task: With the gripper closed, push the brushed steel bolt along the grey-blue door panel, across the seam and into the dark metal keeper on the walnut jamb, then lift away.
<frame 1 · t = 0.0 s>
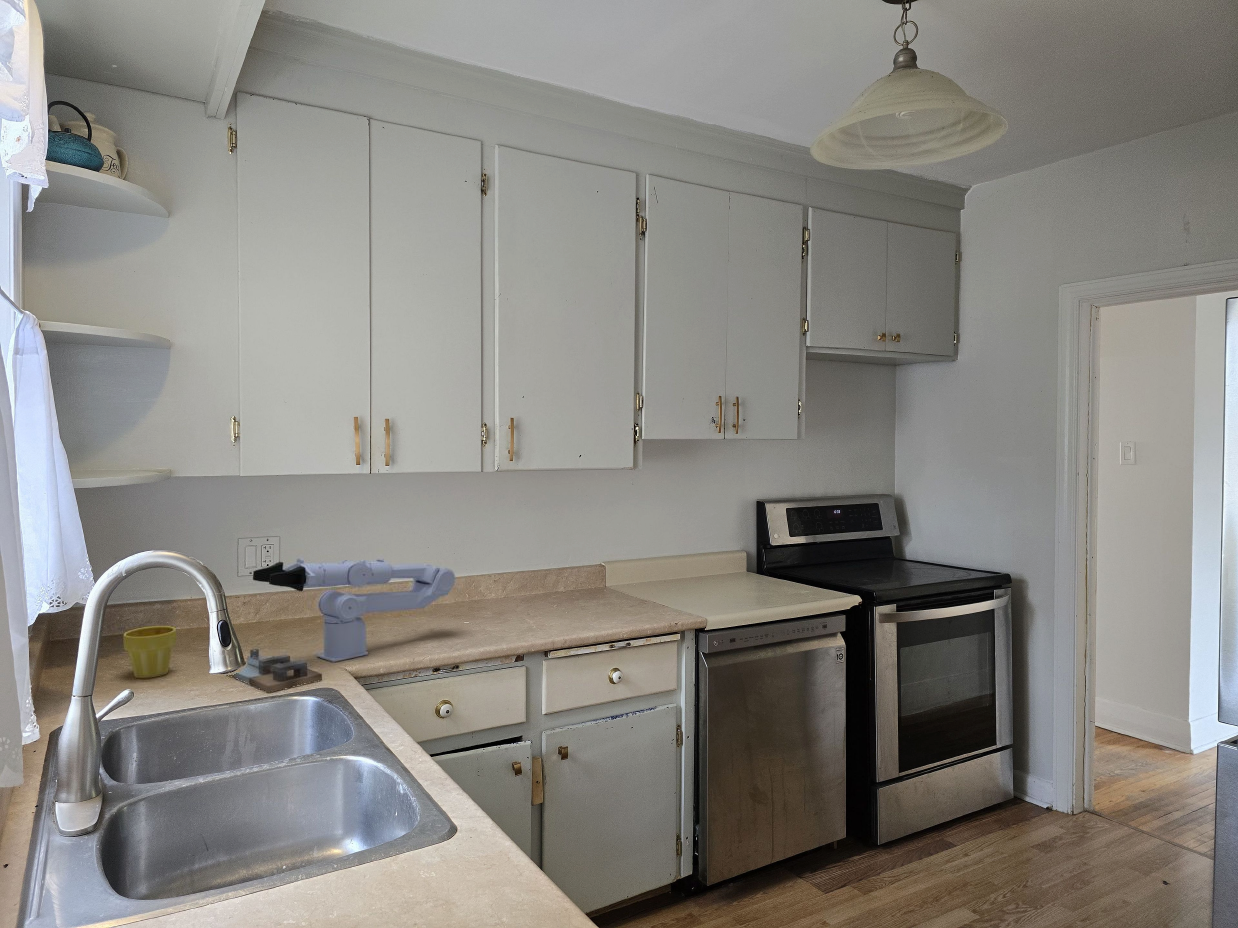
hand: (261, 577, 187), 22 cm above the counter, tool horizontal, fingers open, 7 cm apart
door and jamb: (271, 676, 185), on the counter
plant pot: (150, 674, 186), on the counter
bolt: (263, 659, 187), point 3 cm above the counter, slide at 0.0 cm
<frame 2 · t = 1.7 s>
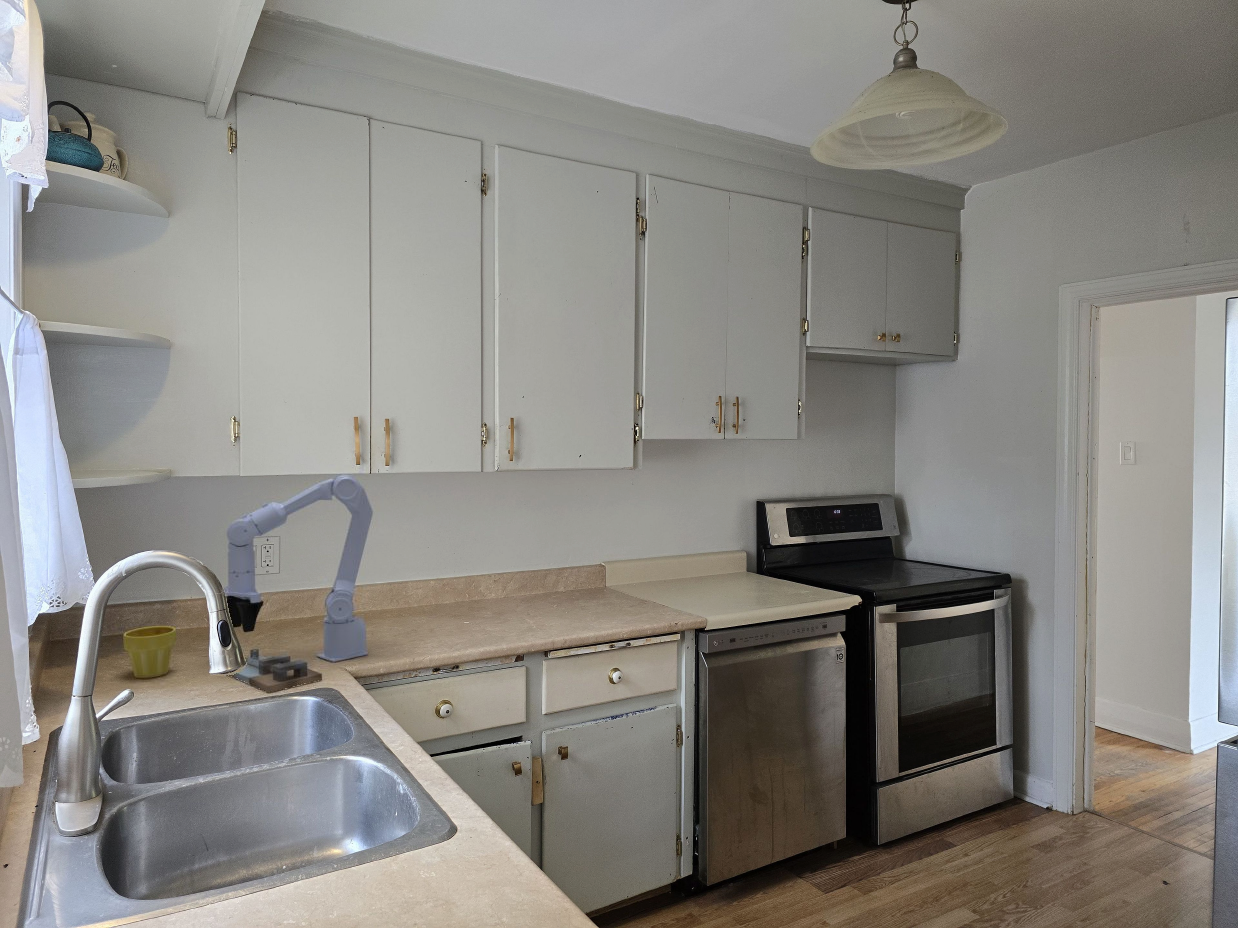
hand: (242, 629, 194), 8 cm above the counter, tool pointing down, fingers open, 6 cm apart
nothing on the counter moved.
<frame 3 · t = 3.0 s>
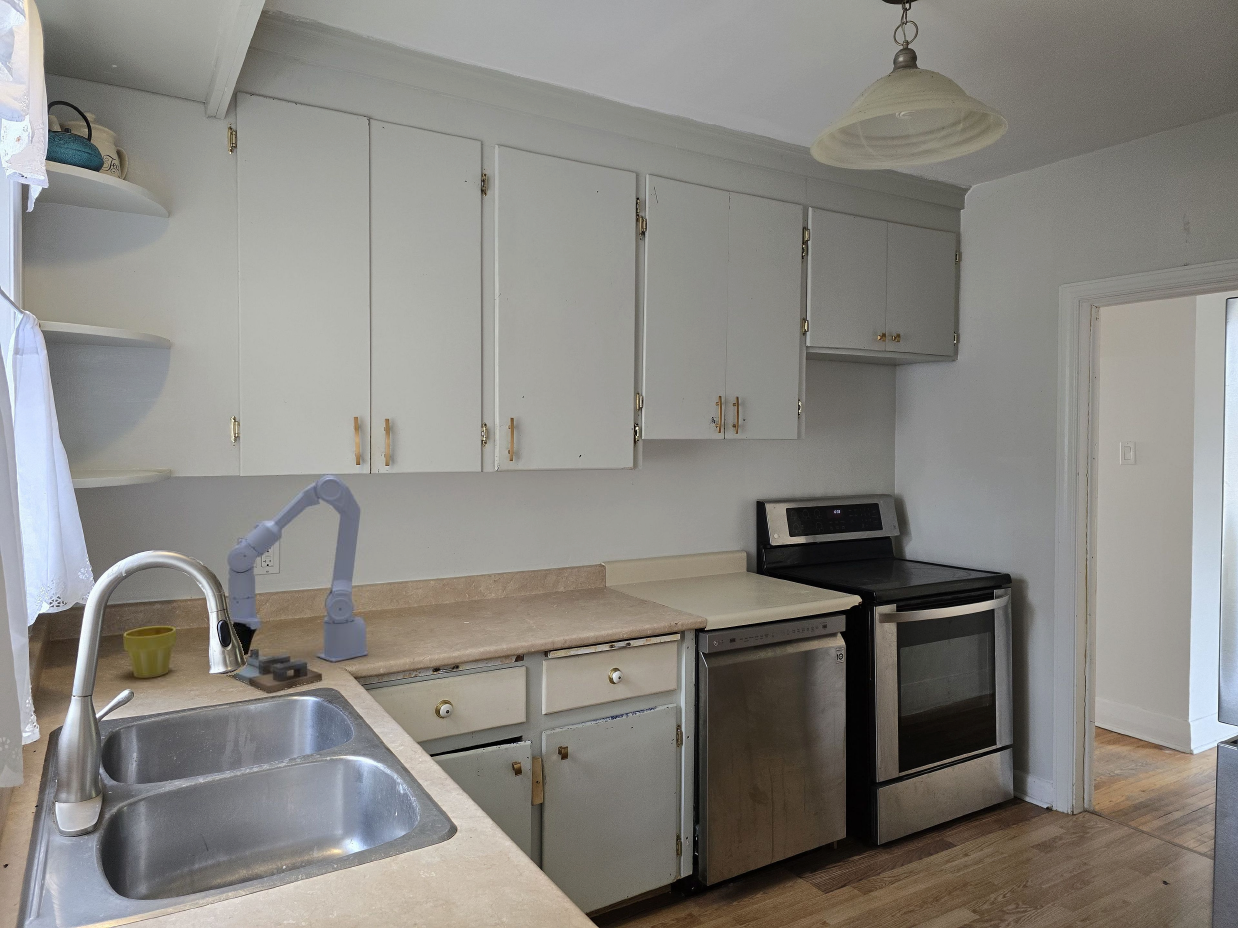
hand: (242, 654, 194), 2 cm above the counter, tool pointing down, fingers closed
nothing on the counter moved.
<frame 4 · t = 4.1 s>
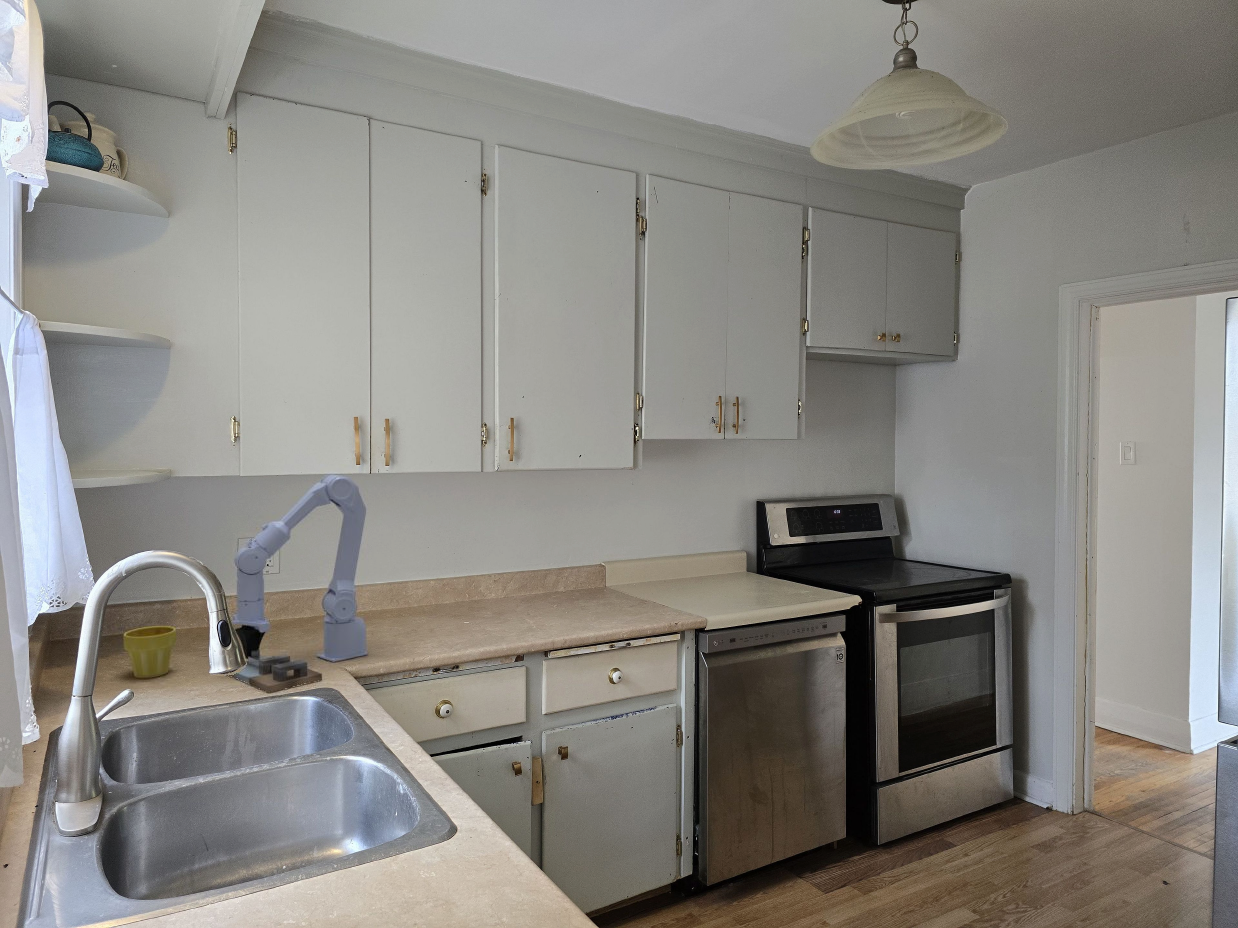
hand: (251, 658, 191), 2 cm above the counter, tool pointing down, fingers closed
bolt: (264, 660, 187), point 3 cm above the counter, slide at 0.5 cm, touching gripper
everything else where it was.
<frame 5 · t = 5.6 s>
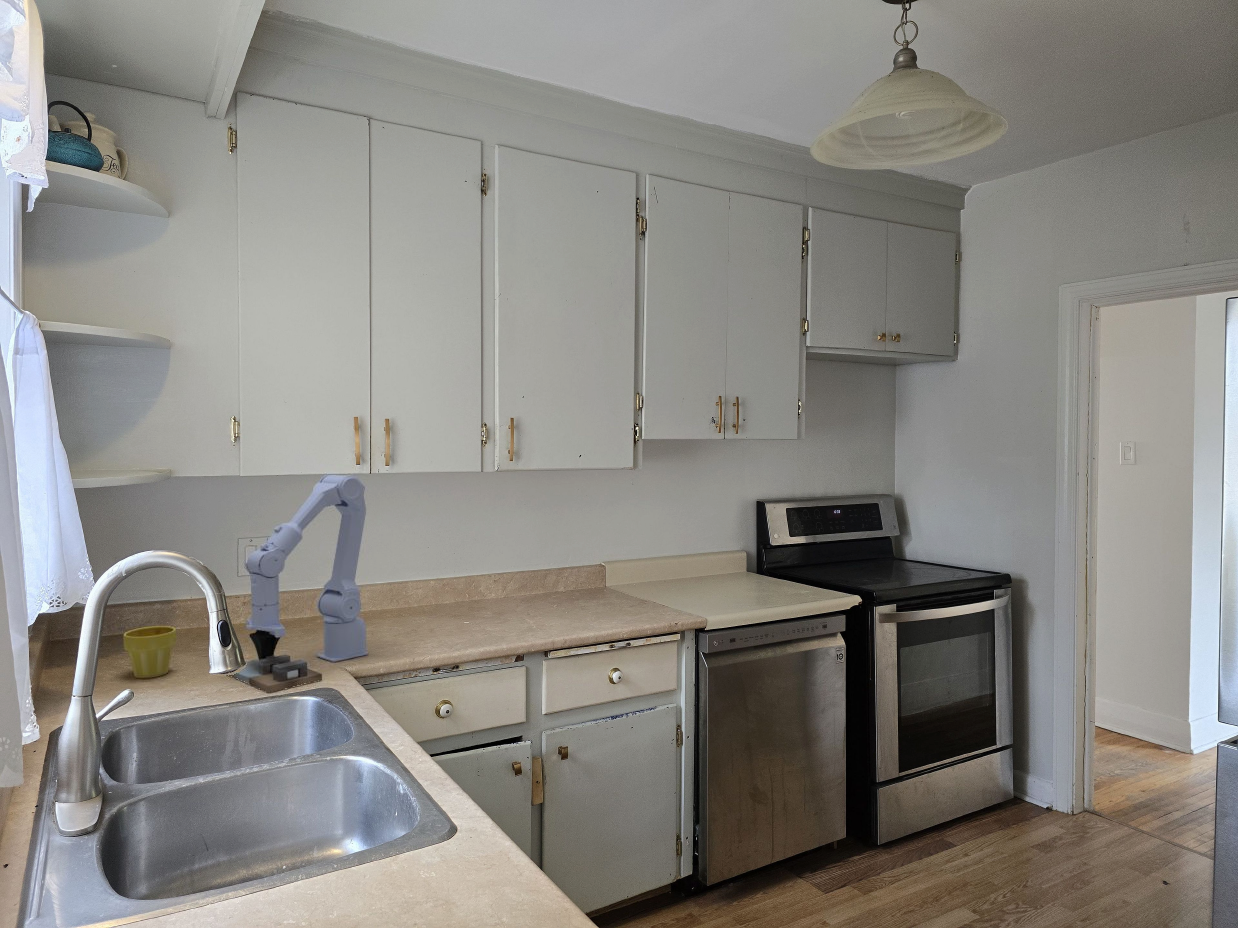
hand: (265, 663, 186), 2 cm above the counter, tool pointing down, fingers closed
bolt: (280, 666, 182), point 3 cm above the counter, slide at 7.6 cm, touching door and jamb, gripper
everything else where it was.
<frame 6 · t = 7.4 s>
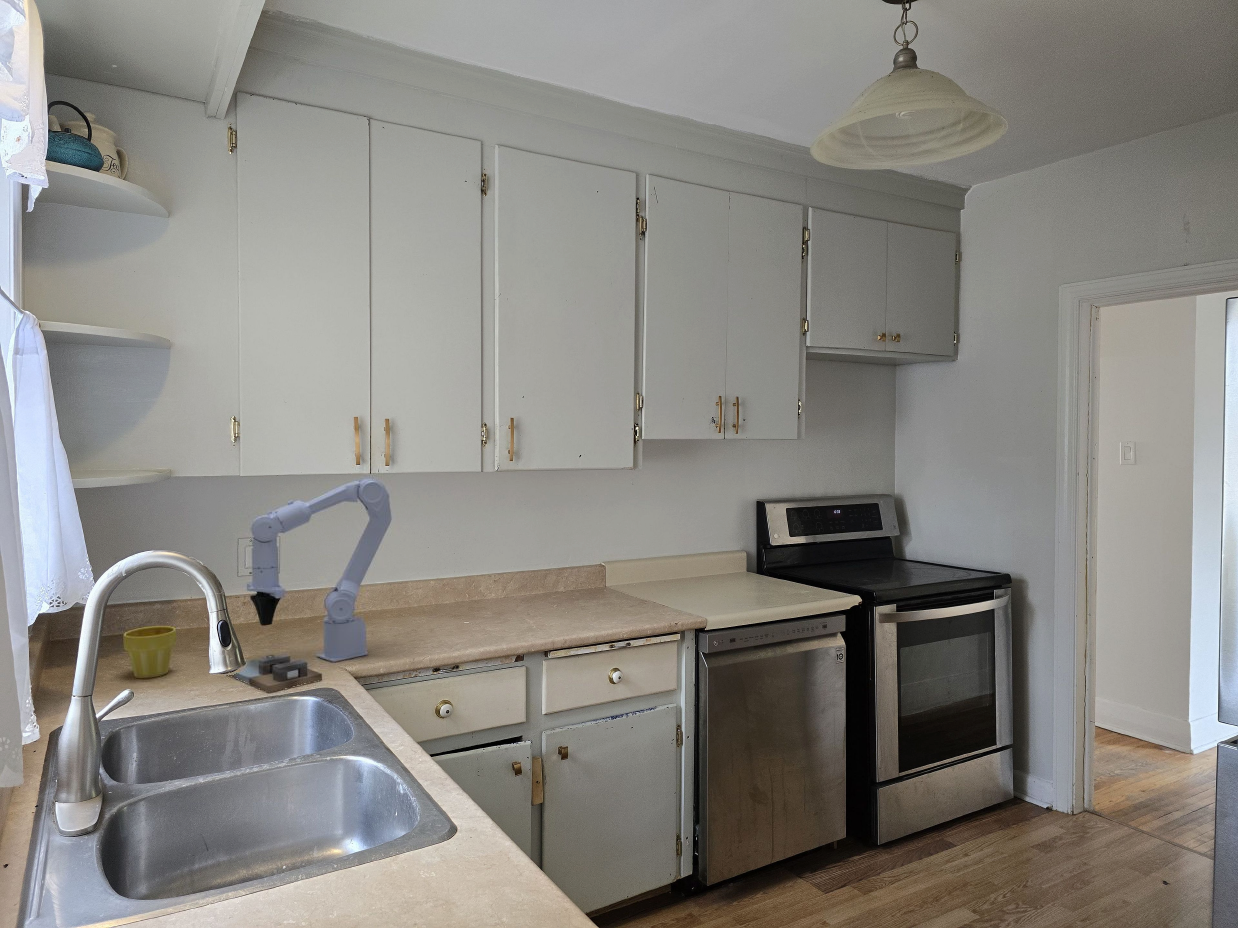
hand: (266, 624, 195), 9 cm above the counter, tool pointing down, fingers closed
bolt: (280, 666, 182), point 3 cm above the counter, slide at 7.6 cm, touching door and jamb
everything else where it was.
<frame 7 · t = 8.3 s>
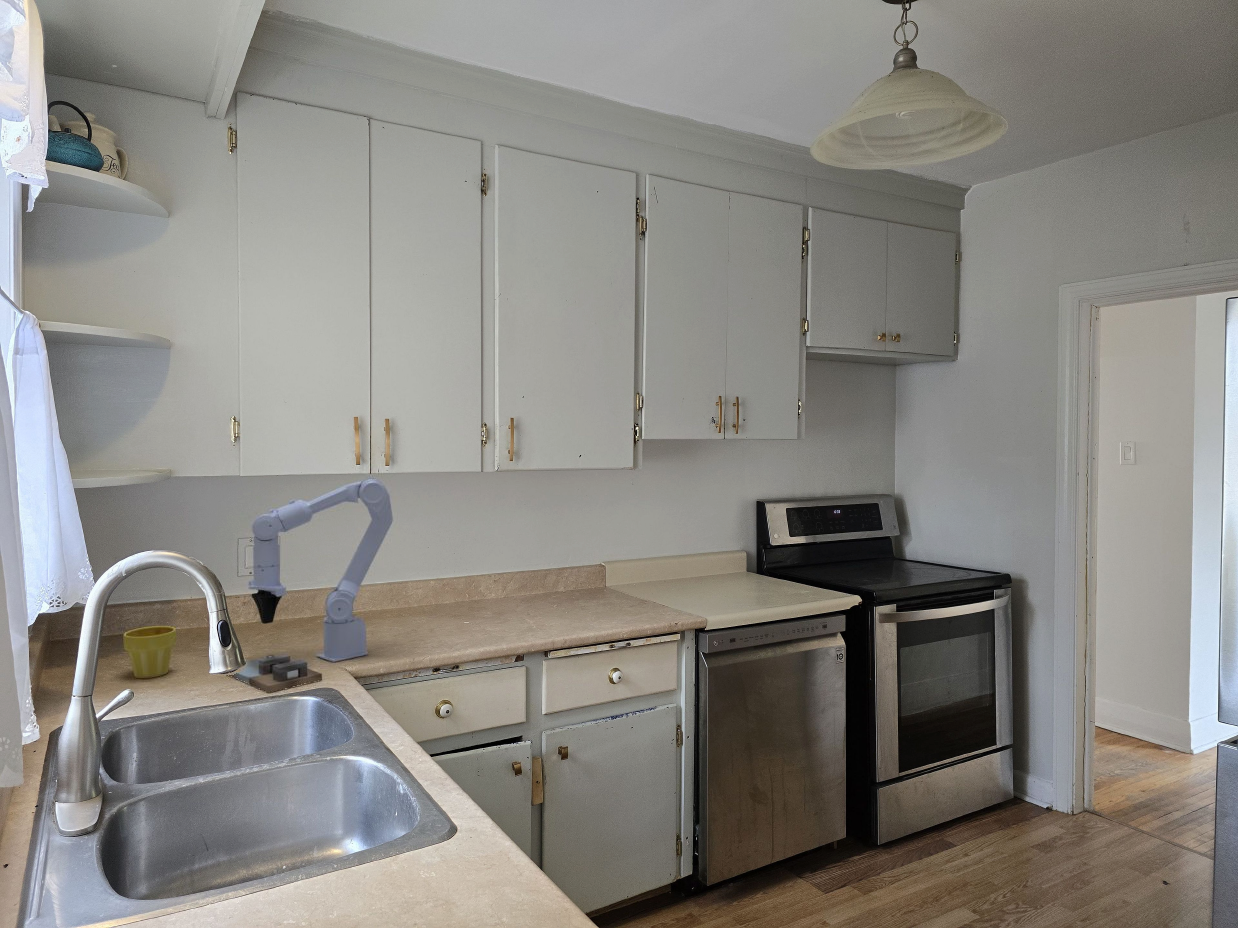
hand: (267, 622, 196), 9 cm above the counter, tool pointing down, fingers closed
nothing on the counter moved.
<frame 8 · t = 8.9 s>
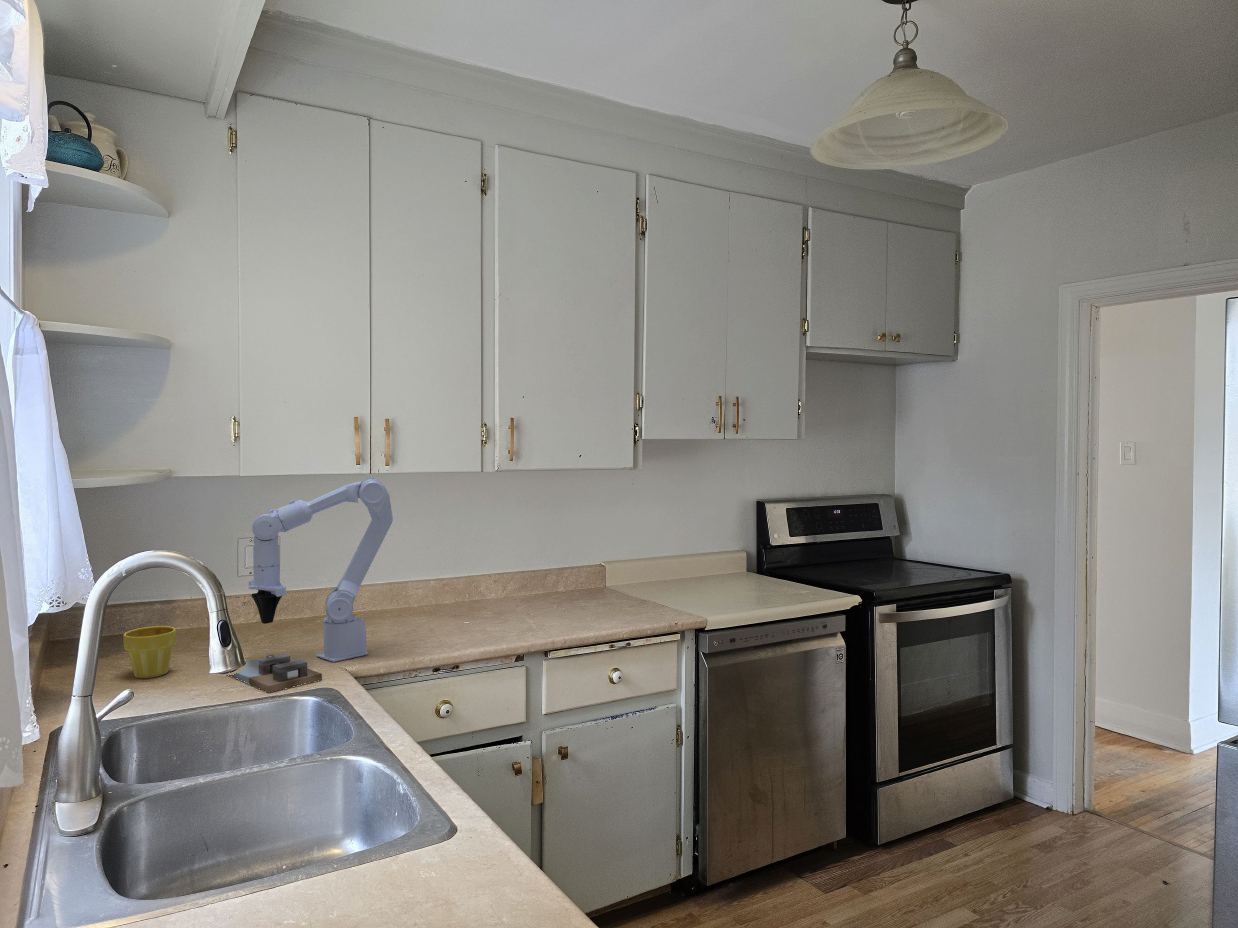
hand: (267, 622, 196), 9 cm above the counter, tool pointing down, fingers closed
nothing on the counter moved.
at the end: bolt slide at 7.6 cm; plant pot moved 0.2 cm from its start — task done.
